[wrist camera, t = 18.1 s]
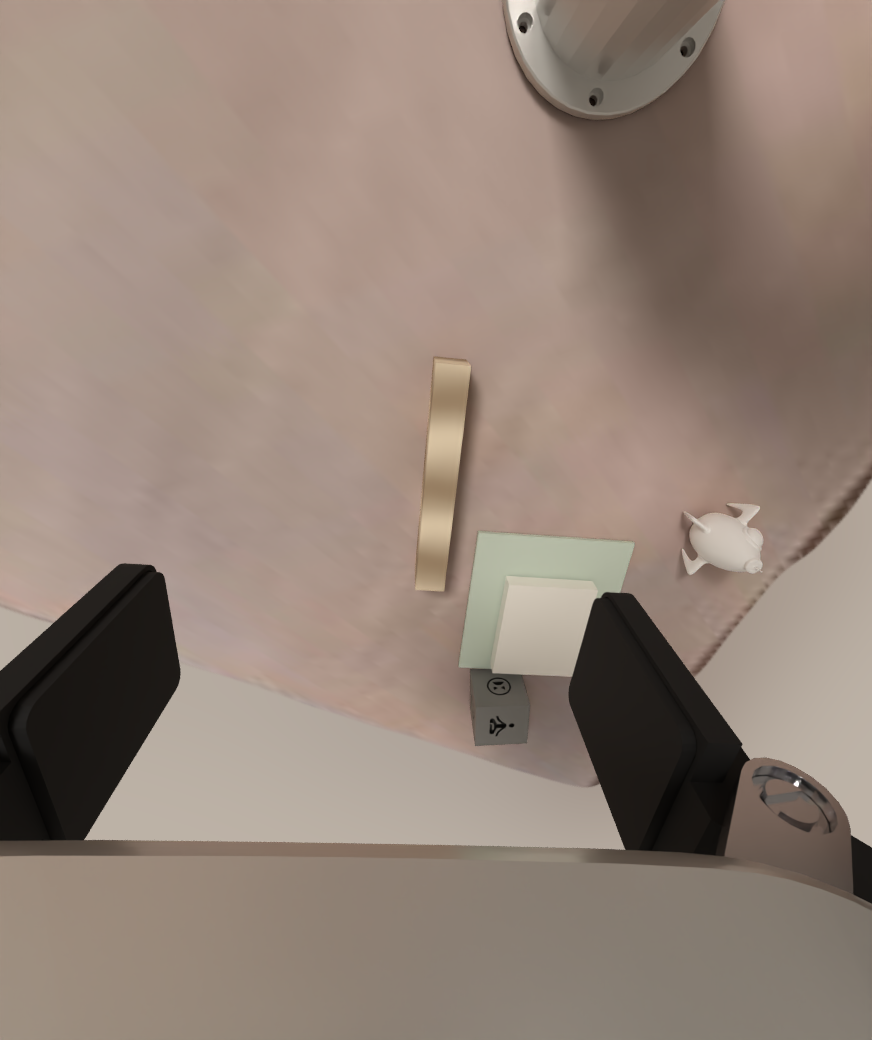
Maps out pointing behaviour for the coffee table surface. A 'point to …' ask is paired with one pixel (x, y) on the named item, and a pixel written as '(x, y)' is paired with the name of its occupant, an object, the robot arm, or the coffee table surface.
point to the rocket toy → (725, 541)
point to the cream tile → (541, 625)
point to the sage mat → (531, 559)
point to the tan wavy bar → (441, 470)
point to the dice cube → (498, 708)
